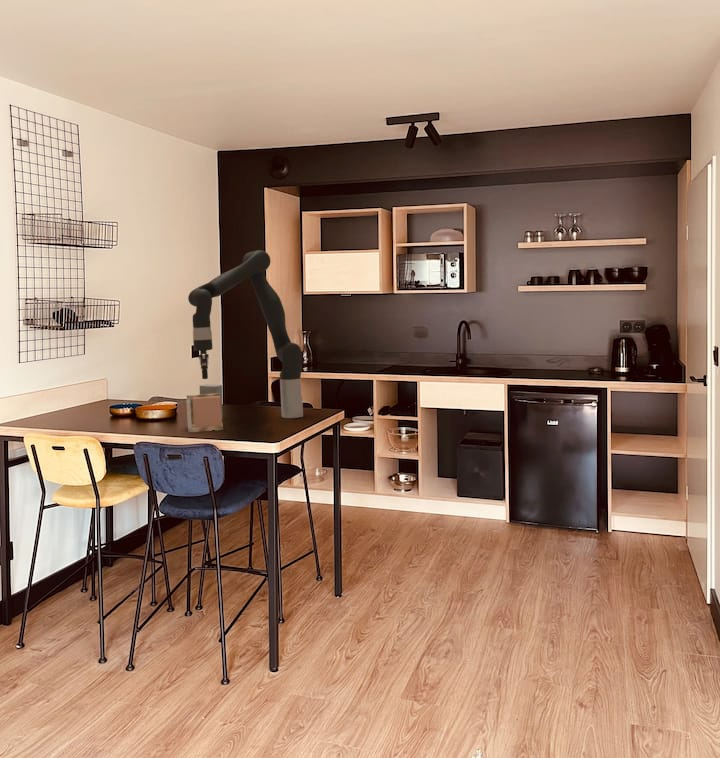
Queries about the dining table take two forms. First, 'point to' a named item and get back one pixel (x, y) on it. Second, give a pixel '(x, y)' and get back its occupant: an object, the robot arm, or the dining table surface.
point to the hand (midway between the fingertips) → (205, 377)
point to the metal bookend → (189, 413)
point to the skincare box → (211, 390)
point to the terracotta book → (207, 411)
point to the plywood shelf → (193, 415)
